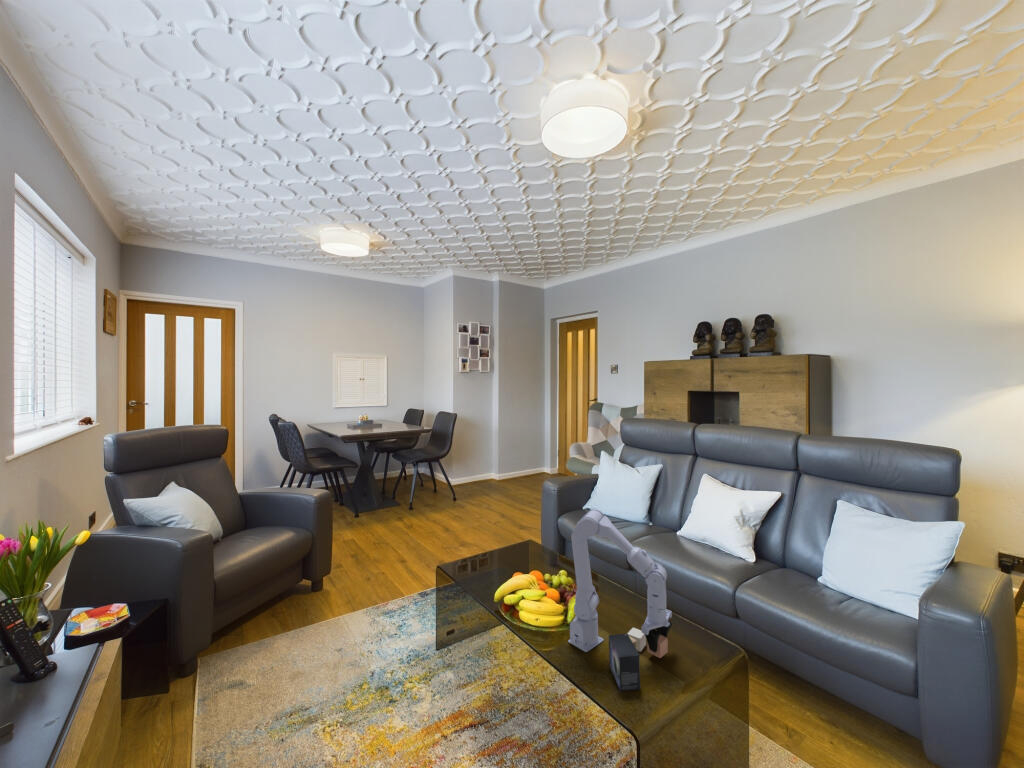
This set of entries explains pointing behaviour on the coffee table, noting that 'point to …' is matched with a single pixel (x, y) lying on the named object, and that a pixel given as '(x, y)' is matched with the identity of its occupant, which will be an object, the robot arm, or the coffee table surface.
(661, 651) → the terracotta cube
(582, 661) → the coffee table surface
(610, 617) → the coffee table surface
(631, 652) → the small box
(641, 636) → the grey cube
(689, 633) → the coffee table surface
